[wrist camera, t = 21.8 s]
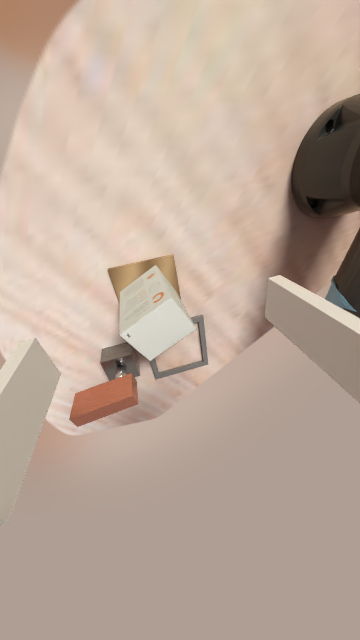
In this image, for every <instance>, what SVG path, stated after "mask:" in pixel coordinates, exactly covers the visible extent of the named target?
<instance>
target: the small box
mask: <svg viewBox="0 0 360 640" xmlns="http://www.w3.org/2000/svg"><path fill="white" fill-rule="evenodd" d="M195 330H196V327H195V325H194V323H193V321H192V319H191V318H190V316H189V314H188V312H187V310H186V309H185V307H184V305H183V303H182V301H181V299H180V298H179V296H178V294H177V292H176V291H175V289H174V288H173V287H172V285H171V284H170V283H169V281H168V280H167V279H166V277H165V276H164V275H163V273H162V272H161V271H160V269H159V268H158V267H157V266H156V265H155V266H153V267H152V268H151V269H149V270H148V271H147V272H145V273H144V274H143V275H141V276H140V277H139V278H137V279H136V280H135V281H133V282H132V283H131V284H129V285H128V286H127V287H125V288H124V289H123V290H122V291H120V308H119V336H121V337H122V338H123V339H125V340H126V341H127V342H128V343H129V344H130V345H132V346H133V347H134V348H135V349H136V350H137V351H139V352H140V353H141V354H142V355H143V356H144V357H146V358H147V359H148V360H149V361H151V360H153V359H154V358H156V357H157V356H159V355H160V354H161V353H163V352H164V351H166V350H167V349H169V348H170V347H172V346H173V345H175V344H176V343H177V342H179V341H180V340H182V339H183V338H185V337H186V336H188V335H189V334H191V333H192V332H194V331H195Z"/></svg>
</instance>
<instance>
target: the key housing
mask: <svg viewBox="0 0 360 640" xmlns="http://www.w3.org/2000/svg"><path fill="white" fill-rule="evenodd" d="M100 363H101V365H102V367H103V369H104V371H105V373H106V375H107V377H108V379H109V381H111V380H114V379H115V378H116V369H117V368H118V367H120V366H123V367H125V368H126V371H127V374H130V373H132V375H133V376H134V377H136V376H140V369H139V361H138V358H137V355H136V353H135V350H134V347H133V346H132V345H130V344H129V343H128V342H127V343H124V344H120V345H116V346H112V347H108V348H105V349H102V353H101V361H100Z"/></svg>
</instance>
